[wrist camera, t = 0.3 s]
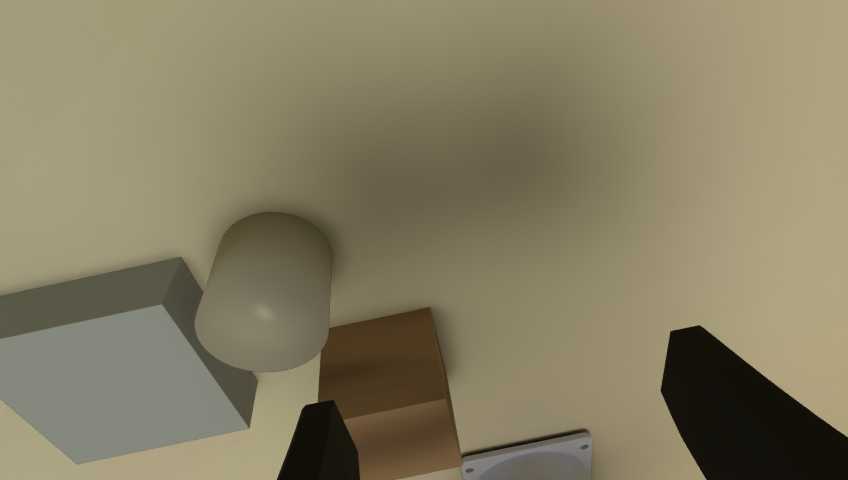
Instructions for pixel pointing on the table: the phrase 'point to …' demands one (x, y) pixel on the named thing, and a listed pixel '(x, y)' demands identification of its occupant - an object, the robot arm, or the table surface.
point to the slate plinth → (118, 364)
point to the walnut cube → (392, 394)
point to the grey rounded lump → (267, 294)
